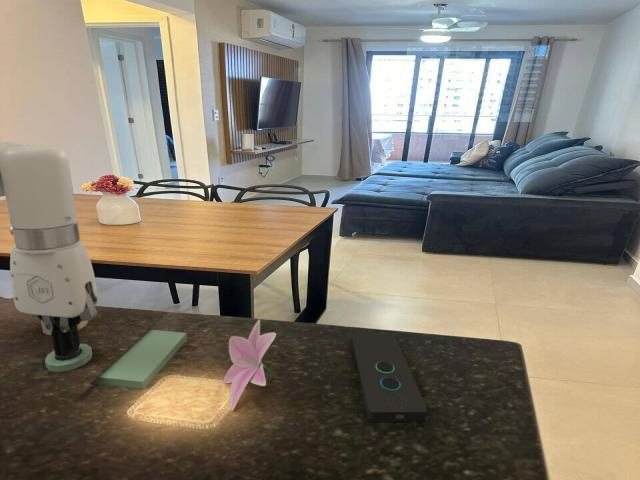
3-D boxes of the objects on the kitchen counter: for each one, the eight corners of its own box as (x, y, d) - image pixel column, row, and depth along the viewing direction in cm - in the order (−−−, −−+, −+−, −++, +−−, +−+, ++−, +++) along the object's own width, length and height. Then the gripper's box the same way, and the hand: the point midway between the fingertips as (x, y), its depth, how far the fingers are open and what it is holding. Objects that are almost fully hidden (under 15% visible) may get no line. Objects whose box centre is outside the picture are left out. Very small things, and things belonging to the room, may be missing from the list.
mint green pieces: (39, 380, 57) (35, 363, 56) (103, 331, 71) (100, 317, 70) (142, 391, 55) (140, 374, 54) (187, 339, 69) (186, 324, 68)
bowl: (35, 343, 67) (30, 319, 65) (64, 324, 73) (60, 302, 72) (70, 346, 66) (66, 323, 65) (97, 327, 72) (94, 305, 71)
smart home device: (368, 411, 50) (350, 333, 69) (367, 422, 51) (349, 341, 70) (429, 411, 51) (394, 333, 70) (428, 421, 51) (394, 341, 70)
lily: (236, 362, 65) (206, 327, 59) (300, 341, 63) (276, 302, 58) (229, 431, 55) (193, 397, 49) (305, 408, 53) (276, 369, 48)
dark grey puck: (53, 362, 58) (51, 355, 57) (67, 351, 61) (66, 344, 60) (71, 364, 57) (69, 356, 57) (85, 353, 60) (84, 346, 60)
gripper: (-26, 239, 51) (2, 359, 56) (77, 247, 49) (96, 370, 54) (22, 226, 58) (43, 333, 63) (114, 232, 56) (128, 342, 61)
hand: (68, 350), depth 59 cm, fingers closed
